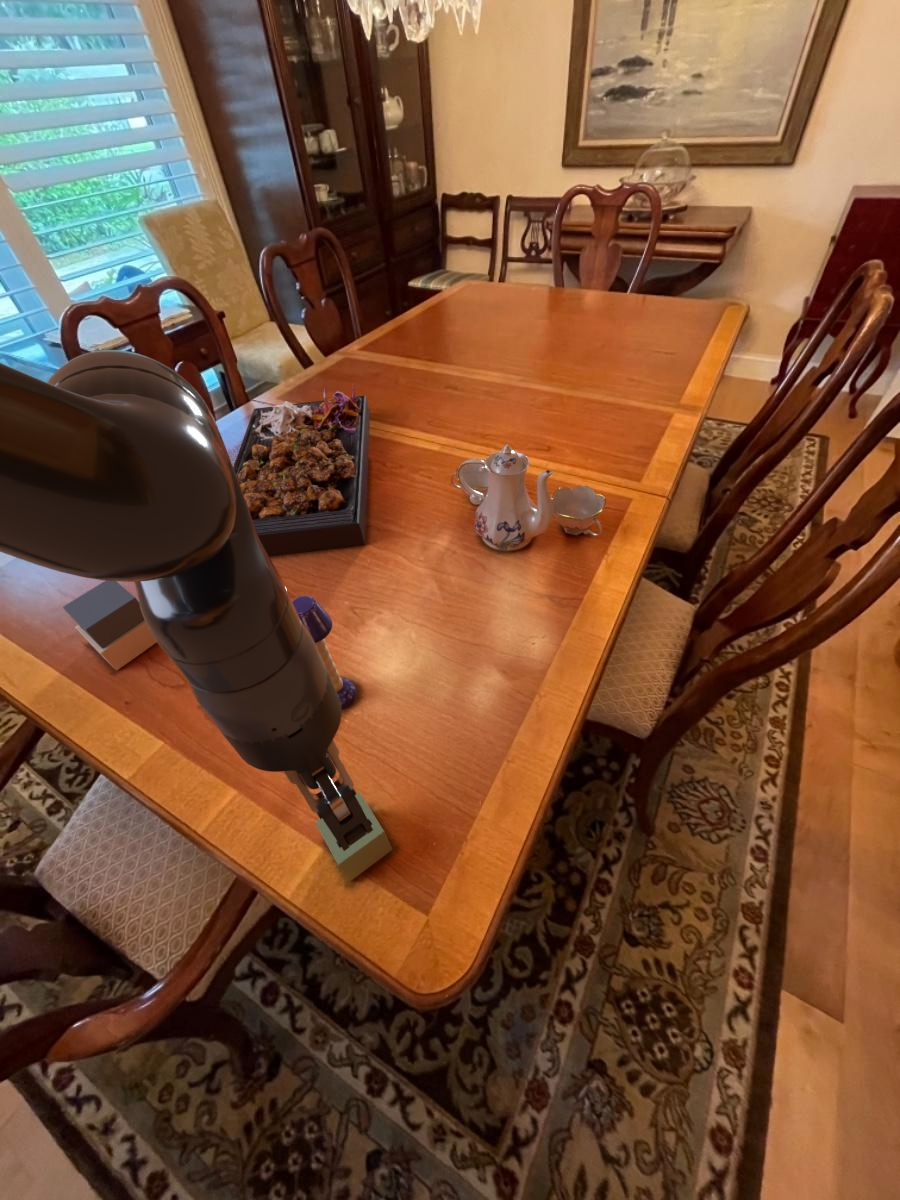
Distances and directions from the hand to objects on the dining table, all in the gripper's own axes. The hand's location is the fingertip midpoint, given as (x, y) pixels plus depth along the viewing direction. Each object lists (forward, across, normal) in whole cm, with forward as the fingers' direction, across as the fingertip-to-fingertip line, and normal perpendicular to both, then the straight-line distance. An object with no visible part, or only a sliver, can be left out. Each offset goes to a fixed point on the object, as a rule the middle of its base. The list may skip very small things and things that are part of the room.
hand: (331, 792), depth 46 cm
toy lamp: (+13, -18, +7) cm, 23 cm away
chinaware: (+13, -29, +46) cm, 56 cm away
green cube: (+13, 0, 0) cm, 13 cm away
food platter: (+13, -67, +25) cm, 73 cm away
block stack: (+12, -46, -13) cm, 49 cm away
